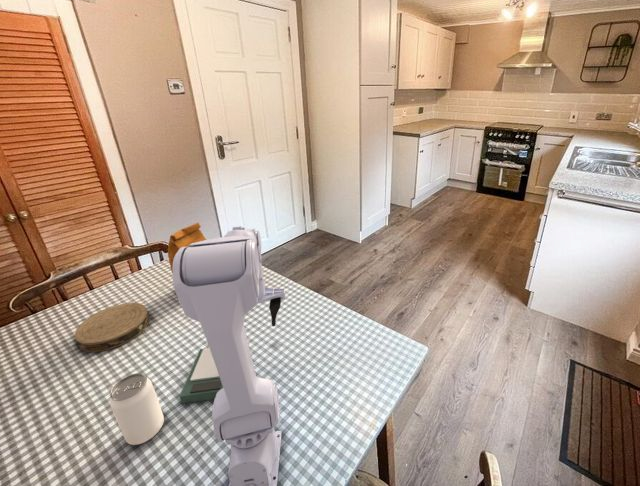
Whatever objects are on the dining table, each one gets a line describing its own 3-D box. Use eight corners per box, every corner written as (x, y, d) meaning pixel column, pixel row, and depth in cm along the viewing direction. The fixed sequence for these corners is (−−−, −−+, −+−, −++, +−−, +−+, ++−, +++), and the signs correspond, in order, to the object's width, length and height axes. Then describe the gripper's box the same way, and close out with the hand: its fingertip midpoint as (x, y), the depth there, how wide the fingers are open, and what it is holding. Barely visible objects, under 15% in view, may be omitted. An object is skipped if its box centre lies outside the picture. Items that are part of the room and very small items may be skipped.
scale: (230, 396, 67) (228, 388, 66) (181, 403, 65) (178, 395, 64) (242, 350, 79) (241, 342, 78) (201, 355, 77) (199, 347, 76)
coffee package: (224, 278, 109) (213, 222, 101) (194, 298, 98) (179, 238, 90) (203, 272, 113) (191, 218, 104) (172, 291, 102) (156, 233, 94)
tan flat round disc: (133, 304, 96) (131, 296, 95) (160, 322, 88) (158, 314, 87) (68, 336, 83) (64, 328, 82) (93, 361, 75) (89, 352, 74)
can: (129, 420, 62) (112, 378, 58) (166, 408, 65) (152, 366, 60) (121, 452, 57) (101, 408, 52) (162, 437, 59) (146, 394, 55)
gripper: (283, 265, 74) (288, 310, 79) (220, 272, 71) (229, 318, 76) (282, 282, 67) (287, 330, 72) (212, 290, 65) (223, 339, 70)
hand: (257, 325), depth 74 cm, fingers open, 7 cm apart
